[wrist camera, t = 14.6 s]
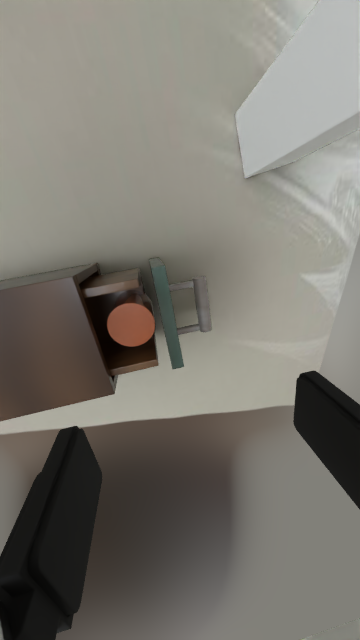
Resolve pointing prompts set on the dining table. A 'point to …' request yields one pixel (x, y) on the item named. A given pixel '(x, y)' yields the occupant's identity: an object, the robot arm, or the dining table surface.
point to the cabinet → (49, 344)
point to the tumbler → (131, 319)
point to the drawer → (127, 359)
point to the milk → (305, 91)
